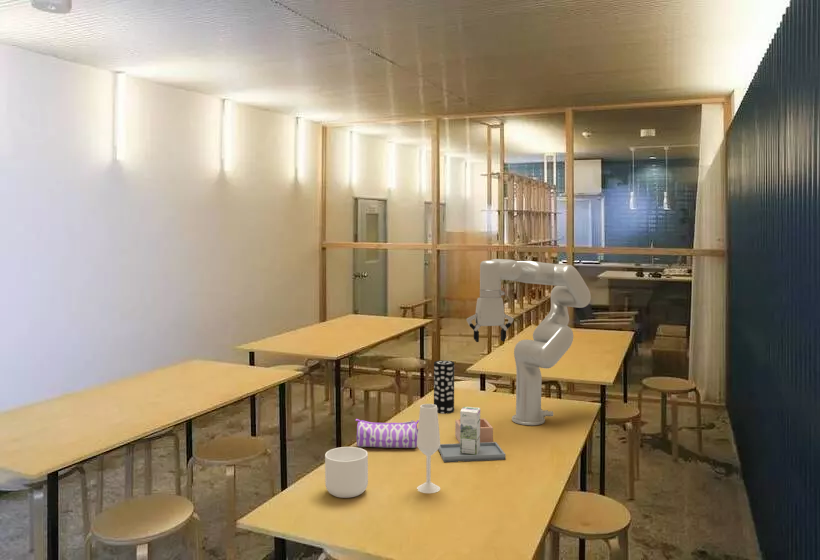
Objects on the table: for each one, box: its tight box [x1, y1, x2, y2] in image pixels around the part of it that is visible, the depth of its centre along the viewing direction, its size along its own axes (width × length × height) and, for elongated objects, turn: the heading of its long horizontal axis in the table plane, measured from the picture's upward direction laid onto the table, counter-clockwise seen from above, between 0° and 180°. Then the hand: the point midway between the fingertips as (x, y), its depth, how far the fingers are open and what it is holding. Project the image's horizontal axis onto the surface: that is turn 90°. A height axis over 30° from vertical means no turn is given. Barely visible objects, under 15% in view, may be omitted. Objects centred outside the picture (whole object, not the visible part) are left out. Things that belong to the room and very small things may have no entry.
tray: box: [437, 441, 507, 463], centre depth 211 cm, size 20×12×2 cm, turn 97°
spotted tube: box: [433, 360, 455, 415], centre depth 262 cm, size 8×8×20 cm
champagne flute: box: [416, 403, 441, 494], centre depth 182 cm, size 7×7×24 cm
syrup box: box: [459, 406, 481, 455], centre depth 210 cm, size 6×6×14 cm
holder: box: [454, 418, 494, 444], centre depth 225 cm, size 11×11×6 cm
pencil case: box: [355, 418, 419, 449], centre depth 218 cm, size 22×9×10 cm, turn 91°
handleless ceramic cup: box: [324, 446, 369, 499], centre depth 180 cm, size 12×12×11 cm
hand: (489, 341), depth 233 cm, fingers open, 9 cm apart
